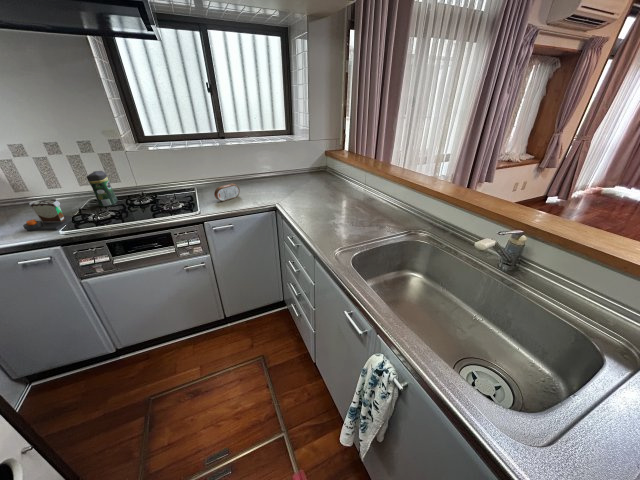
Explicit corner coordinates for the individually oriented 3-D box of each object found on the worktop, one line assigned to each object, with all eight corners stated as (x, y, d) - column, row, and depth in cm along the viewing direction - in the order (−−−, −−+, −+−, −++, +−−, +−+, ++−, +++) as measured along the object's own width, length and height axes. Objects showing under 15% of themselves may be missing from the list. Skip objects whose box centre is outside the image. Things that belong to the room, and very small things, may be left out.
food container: (74, 216, 135) (64, 198, 130) (64, 222, 130) (54, 202, 125) (50, 216, 135) (39, 198, 130) (39, 222, 130) (27, 203, 125)
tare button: (26, 225, 124) (23, 222, 123) (32, 222, 127) (30, 219, 126) (32, 225, 124) (30, 222, 123) (39, 222, 127) (37, 219, 126)
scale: (23, 232, 124) (19, 226, 123) (50, 218, 137) (47, 213, 136) (55, 231, 124) (52, 225, 123) (80, 217, 137) (77, 212, 136)
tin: (238, 195, 163) (236, 181, 158) (241, 196, 161) (239, 182, 156) (215, 202, 153) (212, 187, 149) (218, 203, 152) (215, 189, 147)
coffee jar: (104, 202, 156) (90, 170, 146) (119, 200, 158) (106, 169, 148) (97, 208, 148) (82, 175, 138) (114, 206, 150) (100, 173, 140)
